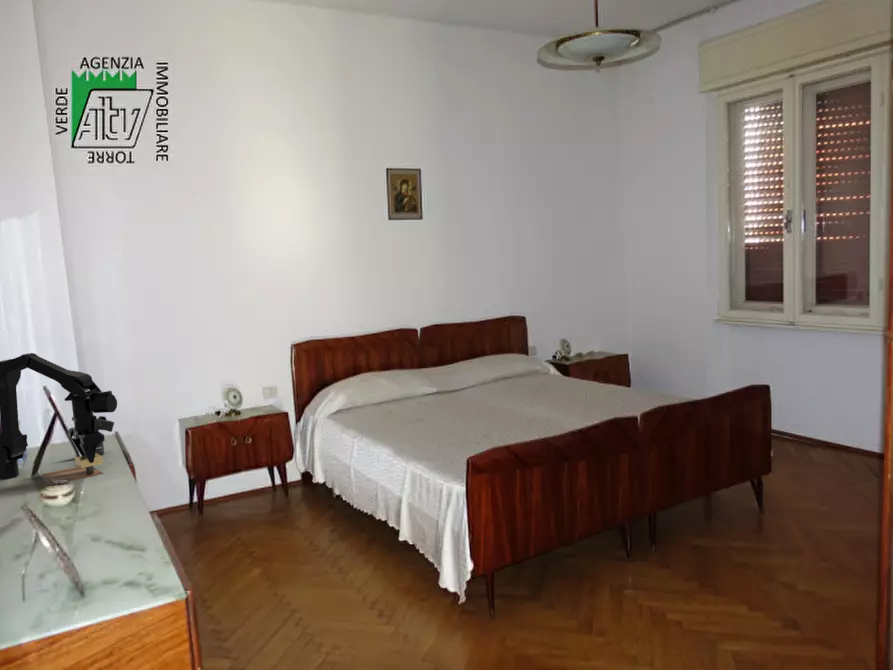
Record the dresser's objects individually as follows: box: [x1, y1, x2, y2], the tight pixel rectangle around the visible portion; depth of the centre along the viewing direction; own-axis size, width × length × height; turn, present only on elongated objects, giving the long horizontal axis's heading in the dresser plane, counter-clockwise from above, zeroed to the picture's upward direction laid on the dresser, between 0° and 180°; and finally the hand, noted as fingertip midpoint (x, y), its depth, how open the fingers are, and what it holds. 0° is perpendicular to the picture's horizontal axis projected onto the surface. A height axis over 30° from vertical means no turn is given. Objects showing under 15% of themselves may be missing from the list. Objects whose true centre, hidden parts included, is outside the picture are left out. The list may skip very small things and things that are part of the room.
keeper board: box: [41, 455, 105, 483], centre depth 227 cm, size 18×14×8 cm
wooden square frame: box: [74, 453, 104, 468], centre depth 225 cm, size 6×6×2 cm
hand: (88, 460), depth 225 cm, fingers closed on wooden square frame, 6 cm apart
